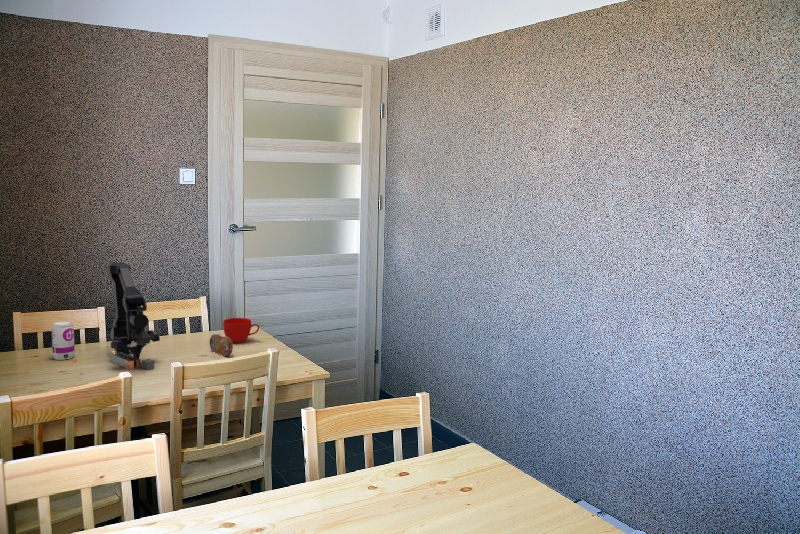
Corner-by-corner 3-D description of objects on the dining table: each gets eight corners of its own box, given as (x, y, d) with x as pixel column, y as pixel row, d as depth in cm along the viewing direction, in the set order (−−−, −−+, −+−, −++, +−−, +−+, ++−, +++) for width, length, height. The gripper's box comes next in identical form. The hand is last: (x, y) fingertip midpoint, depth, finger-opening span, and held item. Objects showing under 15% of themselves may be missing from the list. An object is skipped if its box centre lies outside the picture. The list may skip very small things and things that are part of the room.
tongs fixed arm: (107, 360, 282) (107, 351, 282) (115, 359, 285) (114, 349, 284) (129, 370, 271) (129, 360, 270) (137, 368, 273) (137, 358, 273)
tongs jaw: (117, 360, 282) (117, 352, 281) (121, 359, 283) (121, 352, 283) (136, 368, 273) (136, 359, 273) (140, 367, 275) (140, 359, 274)
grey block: (142, 367, 274) (141, 360, 273) (148, 366, 276) (148, 358, 276) (147, 370, 271) (147, 362, 271) (154, 368, 274) (153, 360, 273)
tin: (209, 351, 302) (209, 332, 301) (215, 349, 304) (215, 331, 303) (227, 358, 292) (227, 339, 291) (234, 357, 294) (234, 338, 293)
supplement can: (79, 357, 286) (77, 322, 284) (62, 361, 279) (60, 326, 276) (65, 354, 289) (64, 320, 287) (48, 358, 282) (47, 323, 280)
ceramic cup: (256, 345, 313) (256, 324, 312) (219, 344, 313) (219, 323, 312) (262, 338, 326) (262, 318, 325) (227, 337, 326) (227, 317, 325)
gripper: (123, 331, 264) (125, 369, 266) (165, 322, 278) (168, 359, 280) (108, 327, 271) (111, 365, 273) (151, 319, 285) (153, 355, 287)
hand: (137, 361), depth 278 cm, fingers closed
